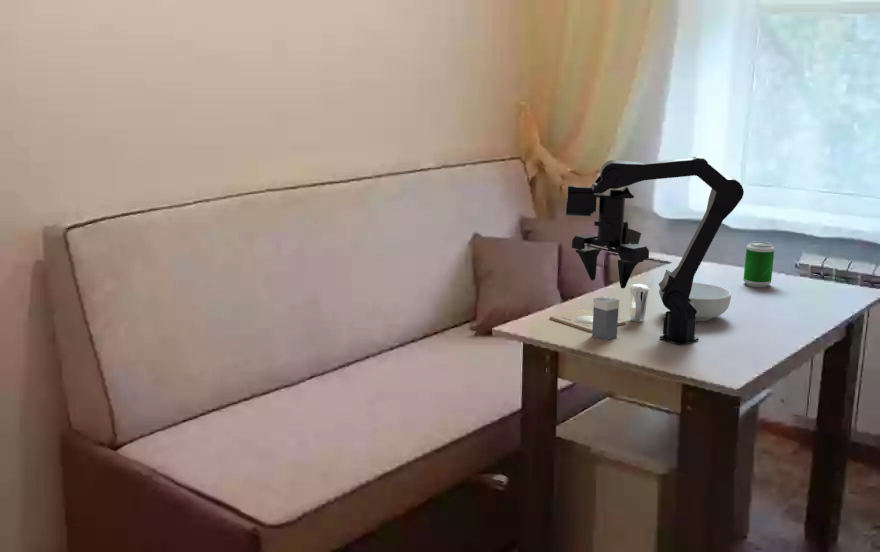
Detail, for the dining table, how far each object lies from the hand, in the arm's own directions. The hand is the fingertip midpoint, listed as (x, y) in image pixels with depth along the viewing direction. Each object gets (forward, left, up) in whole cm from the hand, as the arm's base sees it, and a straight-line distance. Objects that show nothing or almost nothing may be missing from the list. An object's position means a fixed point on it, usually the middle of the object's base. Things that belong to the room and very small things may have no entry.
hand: (607, 284), depth 220 cm
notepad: (+11, -6, -13) cm, 18 cm away
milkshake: (+4, -17, -13) cm, 21 cm away
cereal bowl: (-2, -31, -13) cm, 34 cm away
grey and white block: (0, 0, -13) cm, 13 cm away
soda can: (+8, -73, -13) cm, 74 cm away
